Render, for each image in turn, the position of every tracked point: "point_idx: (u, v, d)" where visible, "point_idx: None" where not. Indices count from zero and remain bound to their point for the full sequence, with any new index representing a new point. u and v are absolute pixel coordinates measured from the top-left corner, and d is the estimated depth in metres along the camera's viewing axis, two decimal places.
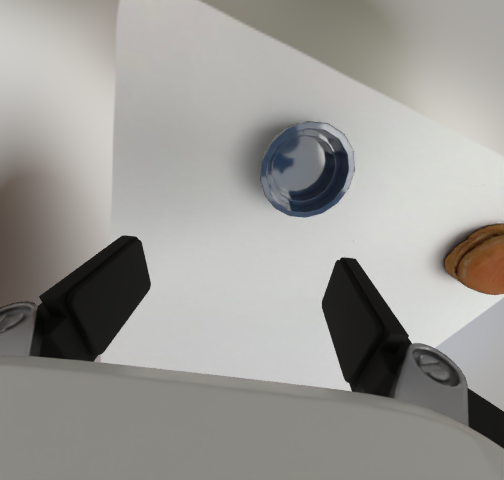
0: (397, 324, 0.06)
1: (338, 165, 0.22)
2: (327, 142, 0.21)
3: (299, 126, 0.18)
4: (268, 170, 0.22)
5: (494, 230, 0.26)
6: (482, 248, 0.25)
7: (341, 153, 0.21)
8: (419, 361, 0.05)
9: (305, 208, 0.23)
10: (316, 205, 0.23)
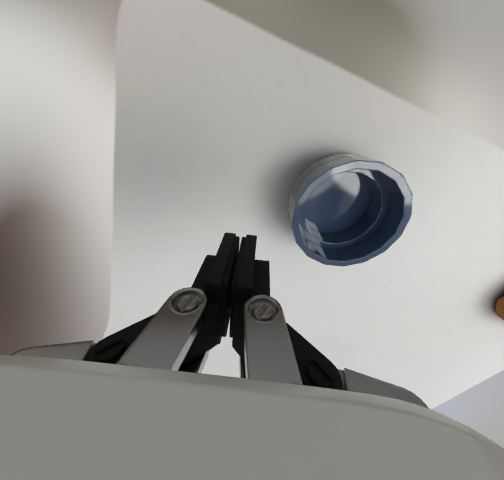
0: (249, 280, 0.07)
1: (385, 205, 0.18)
2: (374, 179, 0.17)
3: (346, 166, 0.14)
4: None
5: None
6: None
7: (391, 193, 0.17)
8: (253, 312, 0.06)
9: (342, 254, 0.19)
10: (355, 250, 0.19)
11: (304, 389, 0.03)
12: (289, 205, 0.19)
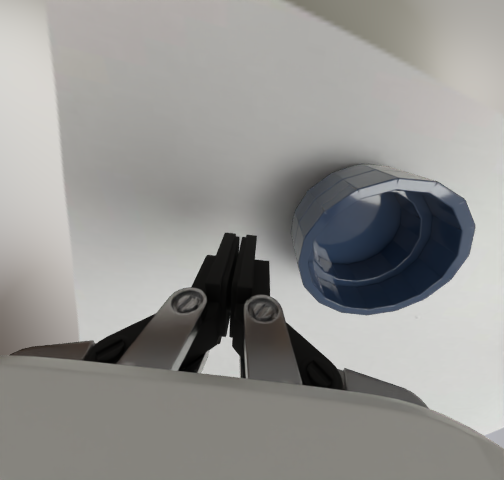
0: (249, 280, 0.07)
1: (425, 235, 0.13)
2: (413, 201, 0.12)
3: (381, 186, 0.10)
4: None
5: None
6: None
7: (437, 220, 0.12)
8: (253, 312, 0.06)
9: (363, 296, 0.14)
10: (382, 292, 0.14)
11: (304, 389, 0.03)
12: (293, 232, 0.15)
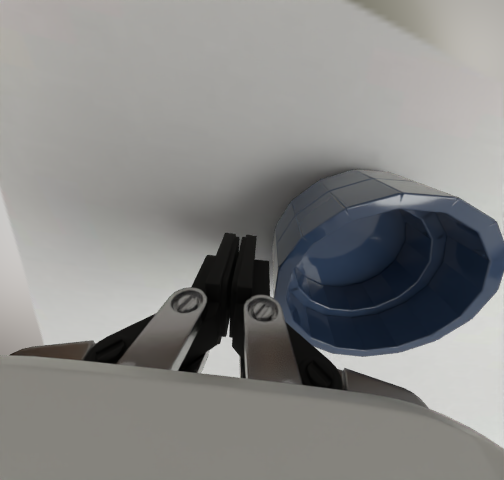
0: (249, 280, 0.07)
1: (437, 258, 0.10)
2: (421, 217, 0.09)
3: (378, 204, 0.07)
4: None
5: None
6: None
7: (454, 242, 0.09)
8: (253, 312, 0.06)
9: (360, 331, 0.12)
10: (383, 327, 0.12)
11: (304, 389, 0.03)
12: (273, 253, 0.12)
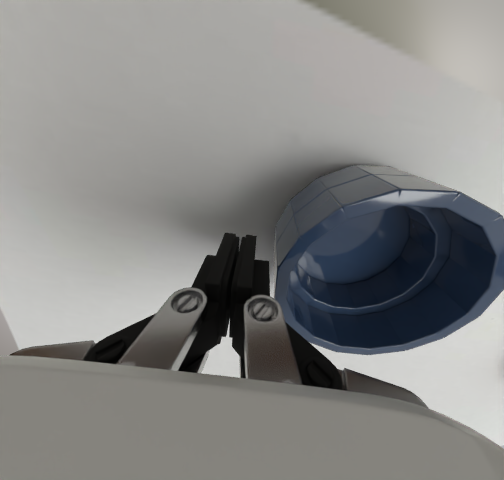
0: (249, 280, 0.07)
1: (442, 254, 0.10)
2: (424, 212, 0.09)
3: (376, 202, 0.07)
4: None
5: None
6: None
7: (459, 237, 0.09)
8: (253, 312, 0.06)
9: (364, 329, 0.12)
10: (388, 325, 0.11)
11: (304, 389, 0.03)
12: (274, 252, 0.12)
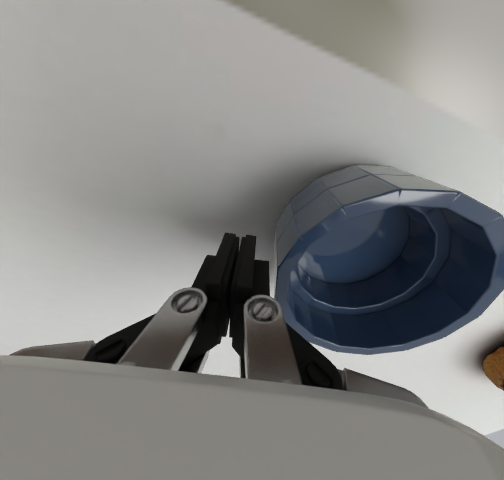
0: (249, 280, 0.07)
1: (442, 254, 0.10)
2: (424, 212, 0.09)
3: (376, 202, 0.07)
4: None
5: None
6: None
7: (459, 237, 0.09)
8: (253, 312, 0.06)
9: (364, 329, 0.12)
10: (388, 324, 0.11)
11: (304, 389, 0.03)
12: (274, 252, 0.12)
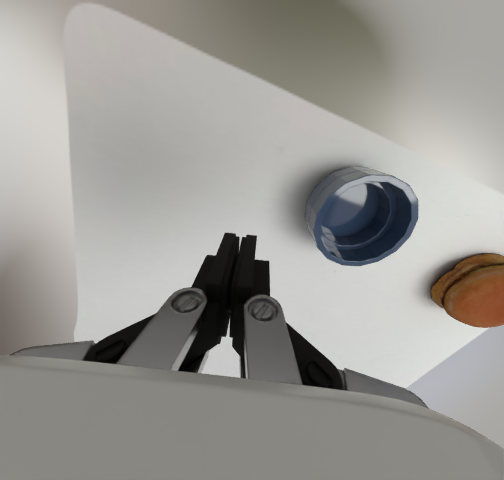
0: (249, 280, 0.07)
1: (394, 210, 0.20)
2: (383, 188, 0.19)
3: (360, 180, 0.17)
4: None
5: (481, 261, 0.24)
6: (468, 281, 0.23)
7: (399, 199, 0.19)
8: (253, 312, 0.06)
9: (357, 255, 0.22)
10: (369, 251, 0.21)
11: (304, 389, 0.03)
12: (307, 214, 0.22)
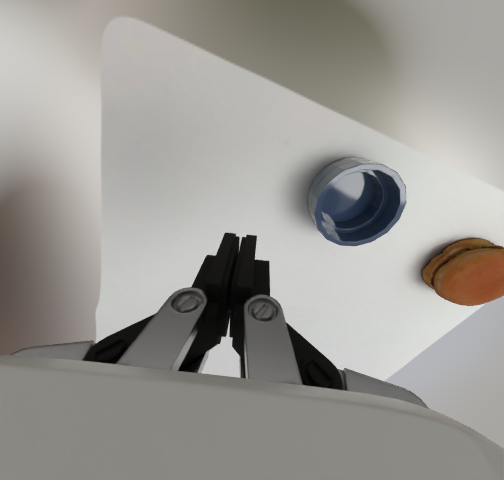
0: (249, 280, 0.07)
1: (386, 196, 0.23)
2: (376, 176, 0.22)
3: (355, 168, 0.19)
4: None
5: (467, 244, 0.27)
6: (454, 262, 0.26)
7: (390, 186, 0.22)
8: (254, 312, 0.06)
9: (353, 236, 0.24)
10: (364, 233, 0.24)
11: (304, 389, 0.03)
12: (309, 200, 0.24)
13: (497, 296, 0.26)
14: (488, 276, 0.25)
